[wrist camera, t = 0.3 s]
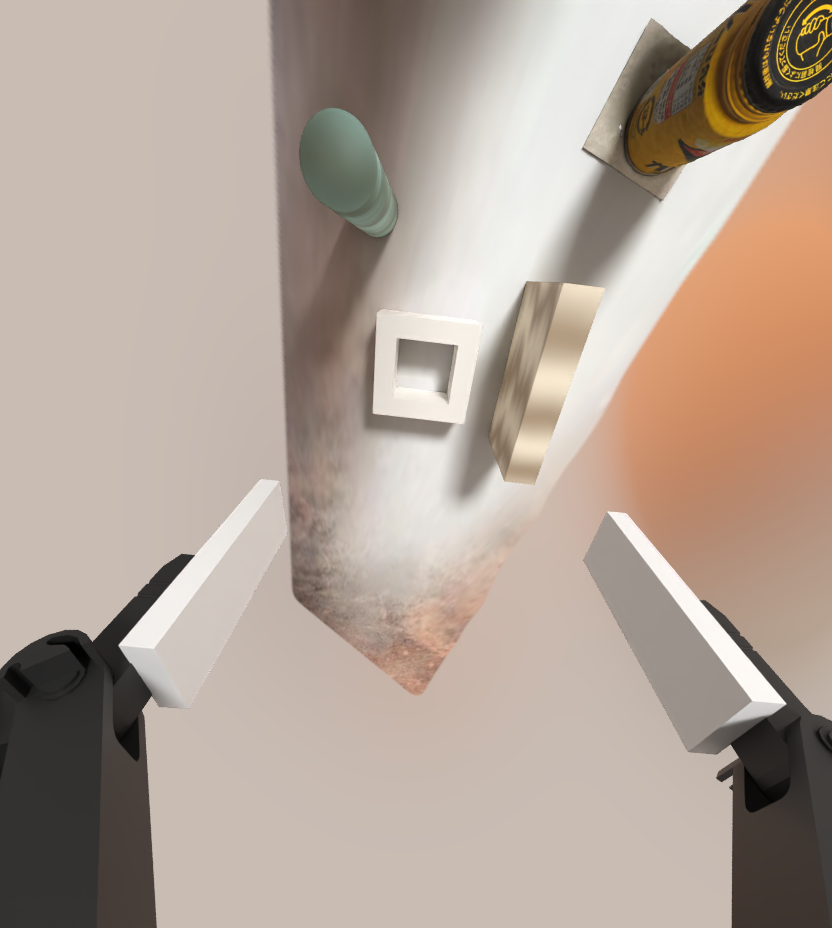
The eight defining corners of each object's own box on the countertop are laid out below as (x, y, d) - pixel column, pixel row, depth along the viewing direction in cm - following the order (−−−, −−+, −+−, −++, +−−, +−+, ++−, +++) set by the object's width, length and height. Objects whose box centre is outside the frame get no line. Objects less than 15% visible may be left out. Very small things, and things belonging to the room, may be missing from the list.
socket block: (382, 308, 33) (376, 312, 29) (478, 320, 33) (483, 325, 30) (377, 401, 38) (372, 413, 35) (460, 410, 38) (463, 424, 35)
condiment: (661, 200, 28) (798, 155, 17) (582, 147, 26) (680, 64, 16) (735, 88, 24) (960, -51, 14) (648, 21, 23) (828, -191, 13)
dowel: (354, 178, 28) (296, 102, 16) (399, 184, 28) (376, 113, 16) (354, 234, 30) (302, 205, 18) (396, 239, 30) (373, 214, 18)
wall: (526, 281, 31) (563, 282, 23) (556, 285, 31) (605, 288, 23) (488, 437, 40) (504, 481, 31) (511, 439, 40) (534, 484, 31)
